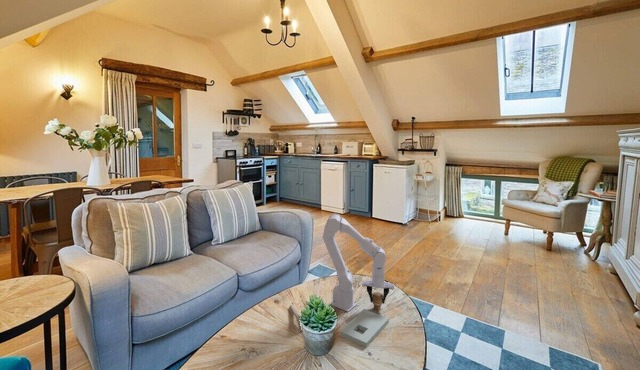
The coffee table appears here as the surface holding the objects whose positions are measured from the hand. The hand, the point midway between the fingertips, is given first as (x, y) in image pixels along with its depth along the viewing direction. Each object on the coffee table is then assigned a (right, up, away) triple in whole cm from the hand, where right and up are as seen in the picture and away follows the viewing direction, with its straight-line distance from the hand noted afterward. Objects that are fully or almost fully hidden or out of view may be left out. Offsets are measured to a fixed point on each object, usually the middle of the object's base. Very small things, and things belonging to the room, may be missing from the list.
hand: (377, 301), depth 145 cm
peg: (0, -3, +1) cm, 3 cm away
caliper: (-37, -5, -7) cm, 39 cm away
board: (-8, -6, -15) cm, 18 cm away
